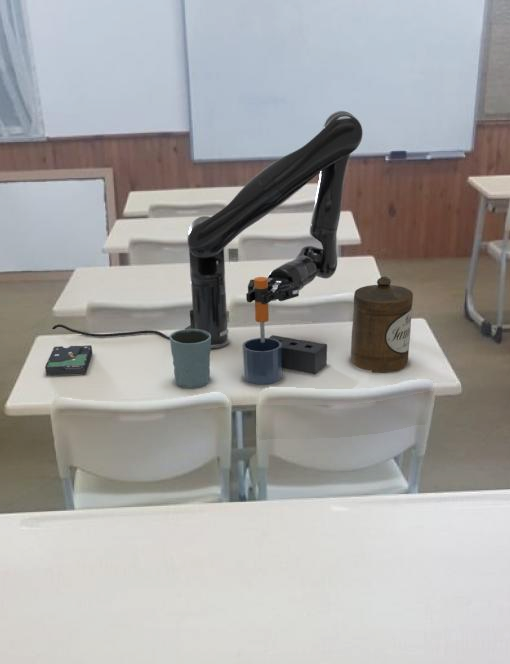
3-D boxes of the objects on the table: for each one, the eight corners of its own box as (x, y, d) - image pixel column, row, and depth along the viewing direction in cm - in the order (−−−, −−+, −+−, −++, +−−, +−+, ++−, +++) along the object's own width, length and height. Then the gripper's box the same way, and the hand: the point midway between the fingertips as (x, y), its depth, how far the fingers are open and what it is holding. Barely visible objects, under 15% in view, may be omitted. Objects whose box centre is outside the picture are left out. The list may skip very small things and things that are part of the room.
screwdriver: (253, 343, 207) (251, 280, 198) (260, 338, 209) (258, 276, 201) (265, 345, 206) (263, 281, 197) (271, 340, 208) (270, 277, 199)
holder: (260, 365, 220) (259, 343, 217) (272, 356, 225) (272, 334, 222) (314, 375, 213) (315, 353, 210) (326, 366, 219) (327, 344, 215)
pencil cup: (236, 382, 211) (235, 348, 206) (255, 369, 218) (254, 335, 213) (270, 389, 207) (270, 354, 202) (288, 375, 214) (288, 341, 209)
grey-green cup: (179, 372, 217) (176, 327, 211) (217, 375, 216) (215, 329, 209) (168, 388, 209) (164, 341, 203) (207, 390, 207) (205, 344, 201)
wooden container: (402, 375, 212) (408, 288, 200) (344, 369, 216) (347, 283, 204) (412, 354, 224) (419, 271, 212) (357, 349, 228) (361, 267, 216)
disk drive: (54, 356, 230) (46, 376, 217) (53, 346, 228) (44, 366, 216) (93, 354, 230) (86, 374, 218) (91, 344, 229) (85, 364, 216)
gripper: (263, 261, 212) (228, 280, 200) (314, 267, 206) (281, 286, 194) (264, 290, 216) (230, 311, 204) (314, 297, 210) (282, 318, 198)
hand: (255, 299), depth 199 cm, fingers closed on screwdriver, 3 cm apart
